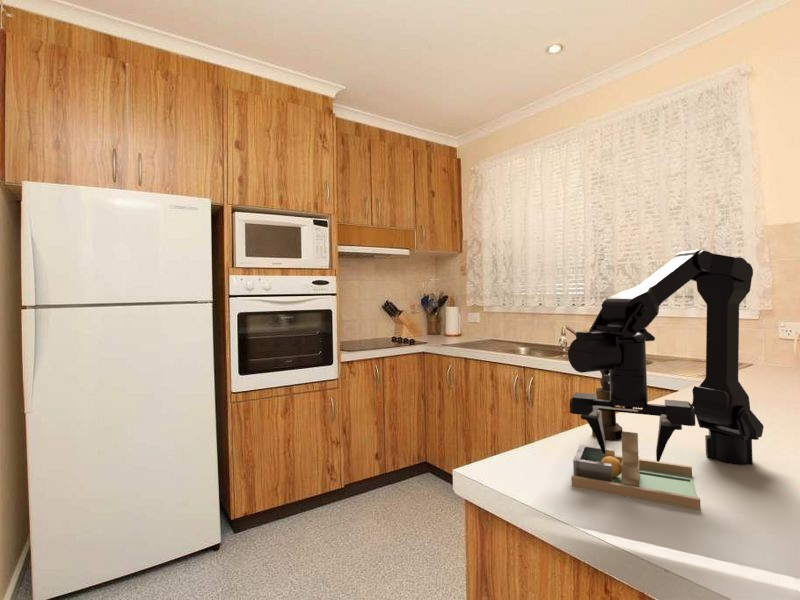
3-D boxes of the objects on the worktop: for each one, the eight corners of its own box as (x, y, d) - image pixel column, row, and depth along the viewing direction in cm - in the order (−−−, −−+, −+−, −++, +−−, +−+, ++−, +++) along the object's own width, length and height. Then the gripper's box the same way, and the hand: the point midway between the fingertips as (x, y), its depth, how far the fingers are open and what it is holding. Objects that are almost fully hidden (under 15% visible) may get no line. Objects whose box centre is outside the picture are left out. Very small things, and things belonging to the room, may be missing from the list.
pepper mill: (586, 432, 102) (584, 358, 102) (611, 431, 102) (609, 357, 102) (602, 441, 95) (599, 362, 95) (629, 439, 96) (626, 361, 96)
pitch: (691, 480, 74) (691, 466, 74) (700, 516, 62) (700, 499, 62) (582, 462, 83) (582, 450, 83) (571, 491, 71) (571, 477, 71)
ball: (622, 455, 75) (600, 452, 77) (621, 462, 72) (599, 458, 74) (622, 474, 75) (601, 471, 77) (621, 482, 72) (599, 478, 74)
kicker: (639, 473, 75) (638, 430, 75) (639, 486, 70) (637, 440, 70) (623, 470, 76) (622, 428, 76) (621, 483, 71) (620, 438, 71)
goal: (615, 467, 78) (614, 449, 78) (611, 486, 70) (611, 466, 70) (580, 462, 81) (580, 444, 81) (573, 480, 73) (573, 460, 73)
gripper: (688, 363, 75) (690, 450, 75) (576, 359, 85) (579, 435, 85) (694, 374, 66) (697, 473, 66) (567, 367, 75) (570, 454, 75)
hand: (630, 456), depth 73 cm, fingers open, 8 cm apart
